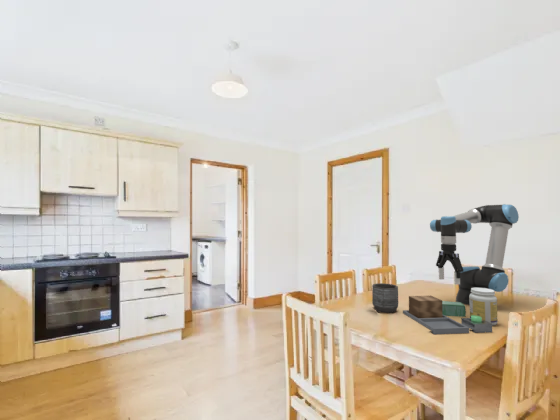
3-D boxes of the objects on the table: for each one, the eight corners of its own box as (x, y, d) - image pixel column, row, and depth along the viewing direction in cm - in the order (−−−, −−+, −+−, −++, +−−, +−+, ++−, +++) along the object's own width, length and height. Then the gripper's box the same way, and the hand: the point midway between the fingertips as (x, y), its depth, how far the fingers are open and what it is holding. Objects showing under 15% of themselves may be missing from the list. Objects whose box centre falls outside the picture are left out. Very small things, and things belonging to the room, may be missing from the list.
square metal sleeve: (478, 325, 152) (478, 317, 153) (492, 332, 144) (492, 323, 144) (461, 326, 152) (461, 318, 152) (474, 332, 143) (474, 324, 143)
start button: (477, 323, 150) (477, 315, 150) (484, 326, 146) (483, 318, 146) (468, 323, 150) (468, 315, 150) (475, 326, 145) (475, 318, 145)
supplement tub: (490, 319, 163) (489, 287, 163) (502, 327, 151) (502, 292, 151) (465, 317, 165) (464, 286, 165) (475, 325, 153) (475, 291, 153)
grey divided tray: (432, 313, 171) (432, 309, 171) (469, 333, 142) (469, 327, 142) (402, 314, 170) (402, 310, 170) (434, 334, 141) (433, 328, 141)
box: (466, 318, 163) (465, 304, 163) (439, 317, 166) (438, 303, 166) (461, 314, 170) (460, 301, 171) (435, 313, 173) (434, 300, 173)
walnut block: (431, 313, 169) (430, 295, 169) (442, 319, 159) (442, 300, 159) (408, 314, 167) (408, 296, 168) (418, 320, 157) (418, 300, 158)
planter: (399, 309, 179) (398, 284, 179) (397, 316, 166) (397, 289, 166) (374, 306, 185) (374, 282, 185) (370, 313, 172) (370, 287, 172)
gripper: (429, 242, 182) (429, 277, 181) (457, 245, 157) (457, 286, 157) (441, 242, 183) (441, 277, 182) (470, 245, 158) (471, 286, 157)
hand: (449, 281), depth 169 cm, fingers open, 13 cm apart
